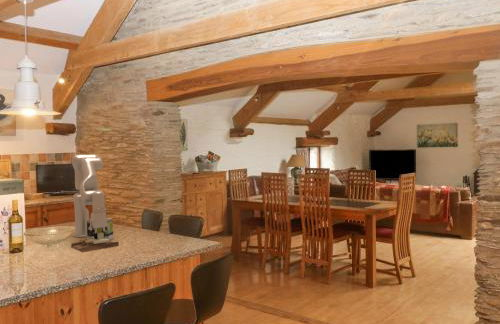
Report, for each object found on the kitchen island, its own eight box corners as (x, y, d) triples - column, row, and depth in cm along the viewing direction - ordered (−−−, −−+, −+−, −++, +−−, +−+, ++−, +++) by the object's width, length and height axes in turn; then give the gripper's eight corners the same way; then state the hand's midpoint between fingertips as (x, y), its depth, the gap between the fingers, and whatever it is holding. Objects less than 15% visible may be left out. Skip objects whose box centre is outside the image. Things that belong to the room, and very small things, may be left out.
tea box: (113, 238, 322) (113, 217, 321) (108, 241, 312) (107, 220, 311) (92, 238, 323) (92, 217, 322) (86, 241, 313) (86, 220, 312)
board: (71, 247, 295) (71, 239, 295) (106, 241, 311) (106, 234, 311) (82, 252, 282) (82, 243, 282) (118, 245, 298) (118, 237, 298)
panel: (85, 240, 299) (85, 232, 299) (100, 238, 306) (100, 230, 306) (94, 243, 289) (94, 235, 289) (109, 241, 296) (109, 233, 295)
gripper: (108, 208, 306) (109, 235, 307) (83, 211, 295) (84, 239, 296) (113, 209, 301) (114, 237, 301) (88, 212, 289) (89, 241, 290)
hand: (99, 238), depth 298 cm, fingers closed on panel, 4 cm apart
